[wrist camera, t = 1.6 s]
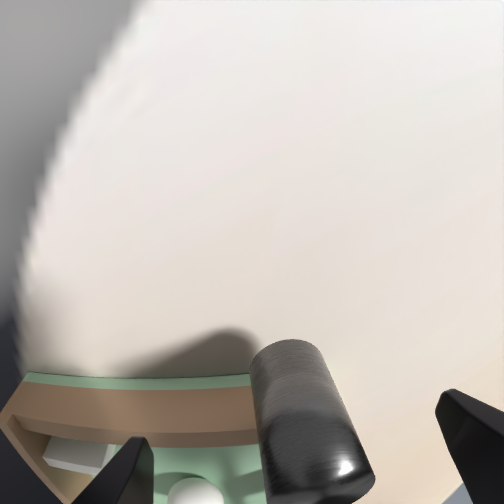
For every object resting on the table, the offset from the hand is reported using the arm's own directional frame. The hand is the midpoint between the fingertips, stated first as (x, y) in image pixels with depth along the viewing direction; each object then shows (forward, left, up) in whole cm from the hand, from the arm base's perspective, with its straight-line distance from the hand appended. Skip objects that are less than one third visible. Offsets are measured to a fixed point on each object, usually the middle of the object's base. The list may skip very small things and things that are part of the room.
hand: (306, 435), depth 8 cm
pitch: (-10, +6, -5) cm, 13 cm away
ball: (-10, +5, -3) cm, 12 cm away
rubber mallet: (-8, 0, -4) cm, 9 cm away
